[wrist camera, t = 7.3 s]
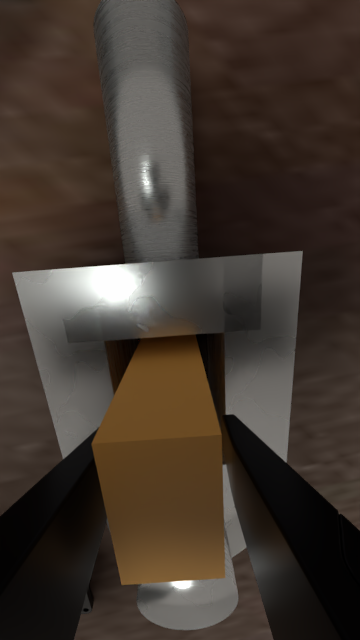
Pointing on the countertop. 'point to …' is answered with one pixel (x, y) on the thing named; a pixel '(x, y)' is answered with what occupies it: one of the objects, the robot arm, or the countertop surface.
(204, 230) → the countertop surface
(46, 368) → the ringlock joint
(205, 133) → the countertop surface
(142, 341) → the wedge
